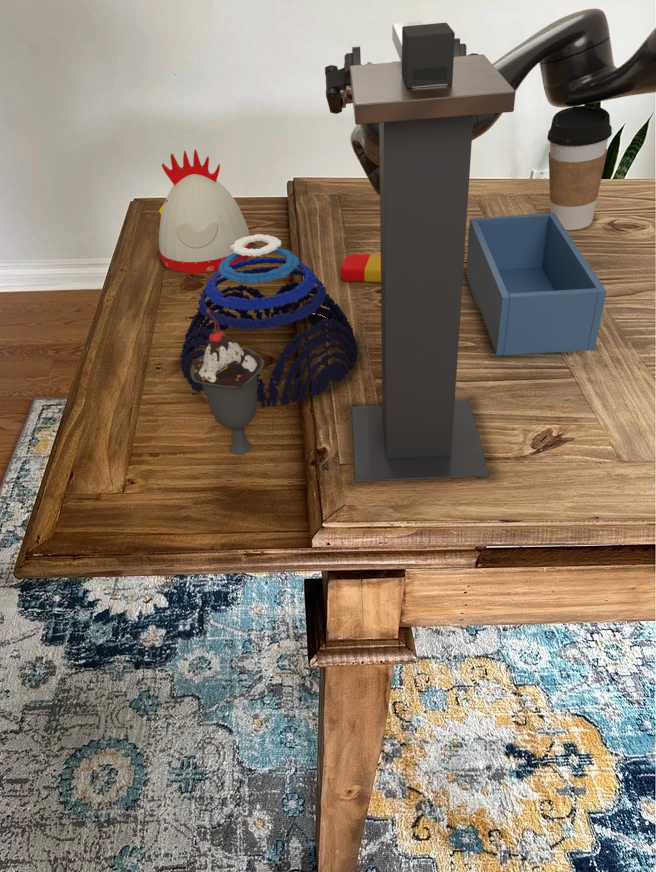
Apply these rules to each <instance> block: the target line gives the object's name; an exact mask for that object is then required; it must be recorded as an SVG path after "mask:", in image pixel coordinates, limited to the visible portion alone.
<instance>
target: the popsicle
mask: <svg viewBox="0 0 656 872" xmlns="http://www.w3.org/2000/svg"><path fill="white" fill-rule="evenodd" d="M339 272H340V278H341V280H343V281H344V282H350V283H352V282H353V283H355V282H356V283H357V282H359V283H381V254H372V253H371V254H369V253H368V254H367V253H362V254H360V253H354V254H353V253H351V254H348V255H347V256H345V257H344V259H343V261H342V264H341V266H340V271H339Z"/></svg>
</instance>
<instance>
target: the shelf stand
mask: <svg viewBox="0 0 656 872" xmlns="http://www.w3.org/2000/svg"><path fill="white" fill-rule="evenodd" d="M492 64H493V63H492V62H491V61H490V60H489V59H488V57H487V56H486V55H485V54H483V53H481V54H479V55H470V56H458V57H454V61H453V82H452V85H445V86H434V87H422V88H409V89H408V88H407V87H406V85H405V82H404V79H403V77H402V63H401V62H396V61H390V62H379V63H373V64H367V65H356V66H350V79H351V90H352V99H353V103H352V107H353V117H354V125H355V126H356V125H358V124H371V123H379V145H380V195H379V225H380V226H379V227H380V235H379V236H380V238H379V239H380V243H379V244H380V255H381V282H380V328H381V329H380V331H381V332H380V334H381V335H380V336H381V338H380V339H381V404H376V405H358V406H356V405H355V406H354V405H353V406H351V407H350V409H351V430H352V431H351V433H352V452H353V453H352V454H353V471H354V472H353V473H354V475H353V477H354V482H355V483H373V482H392V481H394V482H396V481H397V482H399V481H415V480H416V481H418V480H419V481H420V480H421V481H422V480H442V479H444V480H445V479H464V478H466V479H467V478H468V479H469V478H489V477H490V472H489V468H488V464H487V460H486V457H485V453H484V450H483V446H482V443H481V438H480V434H479V431H478V427H477V423H476V420H475V416H474V412H473V409H472V405H471V401H470V400H456V389H457V388H456V387H457V373H458V359H459V357H458V356H459V355H458V354H459V342H460V326H461V325H460V324H461V314H462V313H461V312H462V311H461V310H462V299H463V298H462V297H463V296H462V295H463V284H464V283H463V282H464V281H463V279H464V268H465V266H464V265H465V251H466V250H465V249H466V238H467V237H466V236H467V235H466V234H467V220H468V219H467V218H468V207H469V206H468V205H469V191H470V189H469V188H470V176H471V175H470V173H471V159H472V146H473V145H472V143H473V140H472V130H473V115H481V114H493V113H502V114H503V113H504V114H505V113H514V111H515V102H516V92H517V91H516V92H515V90H514V89H513V88H512V87H511V86H510V85H509V83H508V82H507V81H506V80H505V79H504V78H503V76H502V75H501V74H500V73H499V72H498V71H497V69H496V68H495V67H494V66H493V65H492Z"/></svg>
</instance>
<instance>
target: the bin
mask: <svg viewBox="0 0 656 872" xmlns="http://www.w3.org/2000/svg"><path fill="white" fill-rule="evenodd" d="M467 239H468V240H467V253H466V254H467V256H466V268H465V269H466V271H465V277H466V280H467V283H468V285H469V289H470V291H471V294H472V298H473V300H474V304H475V306H476V308H477V309H479V310H480V313H481V316H482V319H483V323H484V324H485V327H486V330H487V334H488V335H489V339H490V341H491V345H492V347H493V350H494V353H495V356H514V355H515V356H516V355H530V354H534V355H535V354H551V353H567V352H583V351H584V352H586V351H595V350H596V344H597V339H598V335H599V330H600V326H601V319H602V315H603V310H604V305H605V300H606V295H607V290H606V288H605V287H604V285H603V284H602V282H601V281H600V280H599V278H598V276H597V274H596V272H594V270H593V269H592V267H591V265H590V264H589V262H588V261H587V259H586V258H585V257H584V255H583V254H582V252H581V251H580V249H579V247H578V246H577V244H576V243H575V242H574V240H573V239H572V237H571V236H570V233H568V230H565V228H564V227H563V225H562V224H561V222H560V221H559V219H558V218H557V216H556V215H555V213H550V212H543V213H541V212H540V213H531V214H530V213H529V214H528V213H527V214H514V215H513V214H512V215H500V216H499V215H498V216H485V217H474V218H473V217H472V218H469V223H468V238H467Z"/></svg>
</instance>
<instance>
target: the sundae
mask: <svg viewBox="0 0 656 872" xmlns="http://www.w3.org/2000/svg"><path fill="white" fill-rule="evenodd" d="M206 311H207V313H208V314H209V315H210V316H211V317H212V318H213V320H214V326H215V329H213V330H214V333H212V334H211V335H210V336H209V338H208V340H209V341H210V342H209V343H210V344H209V345H208V347H207V346H206V348H205V350H204V351H205V355H204V356H201V357H199V358H198V359H195V360H194V359H193V360H192V362H191V363H192V364H191V368H190V370H191V377H192V379H193V381H195V382H197V383H201V384H202V386H203V388H204V390H203V391H204V394H205V396H206V399H207V402H208V405H209V408H210V411H211V412H212V415H213V418H214V420H215V421H216V423H217V424H219V425H221V426H222V427H224V428H226V429H229V430H231V434H232V444H231V446H230V447H229V452H230V453H231V454H233V455H237V456H244V455H247V454H248V453H250V452H251V450H252V448H253V444H252V443H250V442H249V441H248V439H247V437H246V432H245V427H247V426H248V425H249V424H250V423H251V422H252V421H253V419H254V418H255V417H256V414H257V405H258V395H257V389H258V382H257V378H259V377H258V373H259V374H260V372H261V371H262V370H263V369H264V367H265V360H264V359H263V357H262V356H261V355H260V354H259V353H257V352H256V351H254V350H253V349H250V348H249V347H243V346H240V344H239V343H238V342H237V341H236V342H235V339H232V338H230V337H227V336H226V333H225V332H224V330H223V331H222V330H220V327H219V324H218V322H217V320H216V319H215V318H214V317H213V316H212V315H211V313H210V309H206ZM216 324H217V327H218V328H216Z"/></svg>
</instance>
